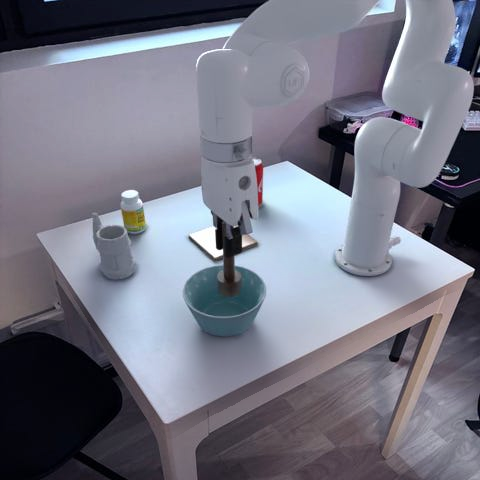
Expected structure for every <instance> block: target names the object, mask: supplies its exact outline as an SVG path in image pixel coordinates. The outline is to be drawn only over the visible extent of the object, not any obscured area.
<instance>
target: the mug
mask: <svg viewBox="0 0 480 480" xmlns="http://www.w3.org/2000/svg"><path fill="white" fill-rule="evenodd" d="M91 218H92V239H93V243H94V245H95V249H96V250H97V252H98V253H99V256H100V263H99V267H100V271H101V272H102V274H103V276H104V277H106V278H107V279H109V280H115V281H116V280H124V279H126V278H129V277H130V276H132V275H133V274H134V272H135V270H136V264H137V262H136V259H135V257H134V256H133V253H132V242H131V240H130V238H129V235H128V234H129V233H128V232H127V230H126V229H125V228H124V225H120V224H119V225H118V224H112V225H111V224H108V225H105V226H104V225H103V224H102V222H101V219H100V216H99V214H98V212H92V213H91Z"/></svg>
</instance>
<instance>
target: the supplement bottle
mask: <svg viewBox="0 0 480 480" xmlns="http://www.w3.org/2000/svg"><path fill="white" fill-rule="evenodd" d="M120 196H121V200H122V201H121V202H120V204H119V207H120V211H121V218H122V222H123V227H124V228H125V229H126V230H127V234H131V235H137V234H140V233H143V232H145V230H146V228H147V224H146V217H145V210H144V209H145V208H144V204H143V203H144V202H143V201H142V200H141V199H140V195H139V192H138V191H137V190H134V189H128V190H127V189H126V190H125V191H123V192H122V193H121V194H120Z"/></svg>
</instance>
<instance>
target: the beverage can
mask: <svg viewBox="0 0 480 480" xmlns="http://www.w3.org/2000/svg"><path fill="white" fill-rule="evenodd" d="M251 158H252V159H253V161H254V165H255V171H256V178H257V190H258V207H260V206H261V205H262V204H263V200H264V198H263V197H264V195H263V194H264V165H263V163H262V160H261V158H259V157H256V156H252V157H251Z"/></svg>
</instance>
